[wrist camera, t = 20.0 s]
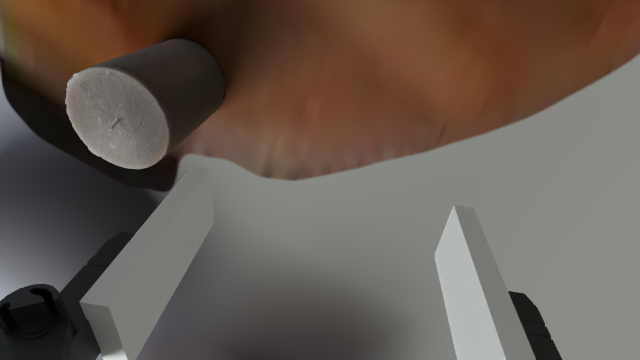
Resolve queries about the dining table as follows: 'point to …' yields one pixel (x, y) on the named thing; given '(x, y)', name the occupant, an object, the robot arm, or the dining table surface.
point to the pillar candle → (145, 101)
